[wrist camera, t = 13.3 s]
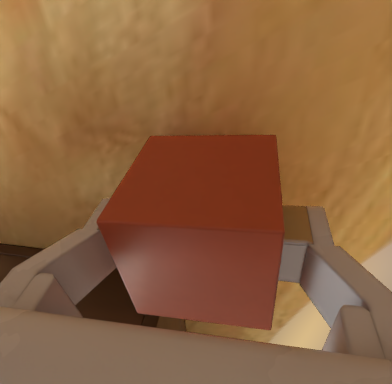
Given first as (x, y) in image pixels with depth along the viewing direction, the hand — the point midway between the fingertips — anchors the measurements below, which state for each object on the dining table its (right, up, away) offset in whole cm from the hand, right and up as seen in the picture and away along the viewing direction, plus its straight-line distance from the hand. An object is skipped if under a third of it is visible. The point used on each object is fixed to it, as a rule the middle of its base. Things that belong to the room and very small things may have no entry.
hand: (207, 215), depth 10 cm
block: (0, +1, +1) cm, 2 cm away
